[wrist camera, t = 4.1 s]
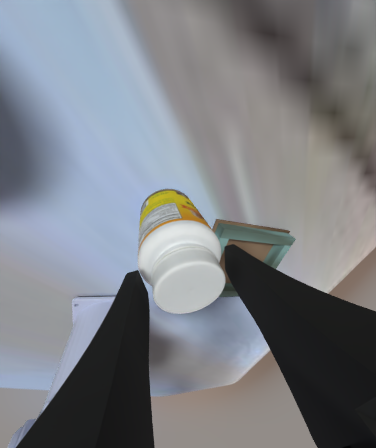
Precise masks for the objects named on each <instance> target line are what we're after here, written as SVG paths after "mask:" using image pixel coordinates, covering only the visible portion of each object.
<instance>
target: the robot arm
mask: <svg viewBox="0 0 376 448" xmlns="http://www.w3.org/2000/svg"><path fill="white" fill-rule="evenodd" d="M224 251H225V271H226V273H227V275H228V278H229V280H230V282H231V284H232V285H233V287H234V289H235V290H236V292H237V293H238V295H239V297H240V298H241V300H242V301H243V303H244V304H245V306H246V308H247V309H248V311H249V312H250V314H251V315H252V317H253V318H254V320H255V322H256V323H257V325H258V327H259V329H260V331H261V332H262V334H263V336H264V338H265V340H266V342H267V344H268V346H269V348H270V350H271V351H272V354H273V355H274V357H275V360H276V361H277V363H278V365H279V367H280V369H281V372H282V373H283V375H284V378H285V380H286V382H287V384H288V386H289V388H290V390H291V392H292V394H293V396H294V399H295V401H296V403H297V405H298V407H299V409H300V411H301V414H302V416H303V418H304V420H305V422H306V424H307V427H308V429H309V431H310V434H311V436H312V438H313V440H314V442H315V444H316V445H317V447H318V448H376V311H373V310H370V309H367V308H364V307H361V306H358V305H356V304H353V303H350V302H348V301H344V300H342V299H340V298H337V297H335V296H332V295H330V294H327V293H325V292H322V291H320V290H317V289H315V288H313V287H311V286H308V285H306V284H304V283H302V282H300V281H298V280H295V279H293V278H291V277H289V276H287V275H285V274H284V273H282V272H280V271H278V270H276V269H274V268H272V267H271V266H269V265H267V264H265V263H264V262H262V261H260V260H259V259H257V258H255V257H254V256H252V255H251V254H249V253H247V252H246V251H244V250H243V249H241V248H239V247H238V246H236V245H235V244H231V245H228V246H224ZM72 313H73V329H72V331H71V334H70V337H69V339H68V342H67V345H66V347H65V350H64V353H63V355H62V358H61V361H60V363H59V366H58V369H57V371H56V374H55V377H54V379H53V382H52V385H51V387H50V390H49V393H48V395H47V398H46V401H45V403H44V406H43V409H42V410H41V412H40V414H39V416H38V418H37V419H30V420H27V421H26V422H25V424H24V425H23V427H21V428H20V429H19V430H17V431H16V432H15V434H13V436H12V438H11V441H10V443H9V445H8V447H7V448H154V437H153V424H152V411H151V397H150V381H149V299H148V292H147V290H146V287H145V285H144V283H143V280H142V278H141V276H140V273H139V271H138V270H137V271H133V272H130V273H127V274H126V276H125V278H124V280H123V283H122V285H121V287H120V289H119V291H118V293H117V295H116V296H110V297H76V298H74V299H73V301H72Z"/></svg>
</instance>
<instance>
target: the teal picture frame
mask: <svg viewBox="0 0 376 448" xmlns="http://www.w3.org/2000/svg"><path fill="white" fill-rule="evenodd" d="M212 230H213V232H214V233H215V235H216V236H217V238H218V240H219V242H220V245H221V259H220V262H219V264H220V266H221V268H222V270H223V272H224V274H225V286H224V289H223V291H222V292H221V294H220V295H219V296H218V297H233V296H239V295H238V293H237V292H236V290H235V289H234V287H233V285H232V284H231V282H230V280H229V278H228V275H227V273H226V271H225V251H224V246H228V245H231V244H235V245H236V246H238V247H239V248H241V249H243V250H244V251H246V252H247V253H249V254H251V255H252V256H254V257H255V258H257V259H259V260H260V261H262V262H264V263H265V264H267V265H269V266H271V267H272V268H274V269H276V268H277V266H278V265H279V263H280V262H281V260H282V259H283V257H284V256H285V254H286V253H287V251H288V250H289V248H290V247H291V245H292V244H293V242H294V241H295V238H294V237H292V236H291V235H289V232H290V231H288V230H282V229H276V228H269V227H263V226H257V225H251V224H244V223H238V222H232V221H226V220H219V219H216V221H215V224H214V227H213V229H212Z"/></svg>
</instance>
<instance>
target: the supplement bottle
mask: <svg viewBox="0 0 376 448" xmlns="http://www.w3.org/2000/svg"><path fill="white" fill-rule="evenodd" d="M220 259H221V245H220V242H219V240H218V238H217V236H216V235H215V233H214V232H213V230H212V229H211V228H210V226H209V225H208V223H207V222H206V221H205V219H204V218H203V217H202V215H201V214H200V213H199V211H198V210H197V209H196V207H195V206H194V205H193V203H192V202H191V200H190V199H189V198H188V197H187V196H186V195H185V194H184V193H182V192H180V191H178V190H175V189H161V190H158V191H156V192H154V193H152V194H151V195H150V196H148V197H147V199H146V200H145V201H144V203H143V205H142V208H141V214H140V228H139V246H138V267H139V271H140V273H141V275H142V277H143V278H144V280H145V281H146V282H147V283H148V284H150V285H151V286H152V287H153V298H154V301H155V303H156V304H157V306H158V307H159V308H160V309H162V310H164V311H166V312H169V313H174V314H185V313H191V312H194V311H197V310H200V309H202V308H204V307H206V306H208V305H209V304H211V303H212V302H213V301H215V300H216V299H217V298H218V296H219V295H220V294H221V292H222V291H223V289H224V286H225V274H224V272H223V270H222V268H221V266H220V264H219V262H220Z"/></svg>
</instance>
